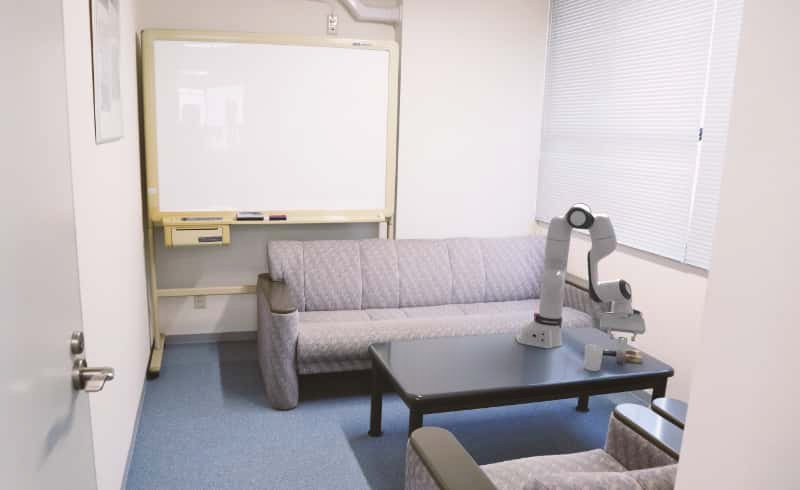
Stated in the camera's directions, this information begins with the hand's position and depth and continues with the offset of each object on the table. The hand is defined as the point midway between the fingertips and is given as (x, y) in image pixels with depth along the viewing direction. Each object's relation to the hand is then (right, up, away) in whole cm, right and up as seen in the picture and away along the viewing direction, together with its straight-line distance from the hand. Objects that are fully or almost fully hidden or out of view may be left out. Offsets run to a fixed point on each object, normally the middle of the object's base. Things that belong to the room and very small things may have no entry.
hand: (622, 339), depth 281 cm
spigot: (-2, -11, -1) cm, 11 cm away
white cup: (-17, -12, -10) cm, 23 cm away
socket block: (+5, -10, +6) cm, 13 cm away
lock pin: (-4, -7, +10) cm, 13 cm away
